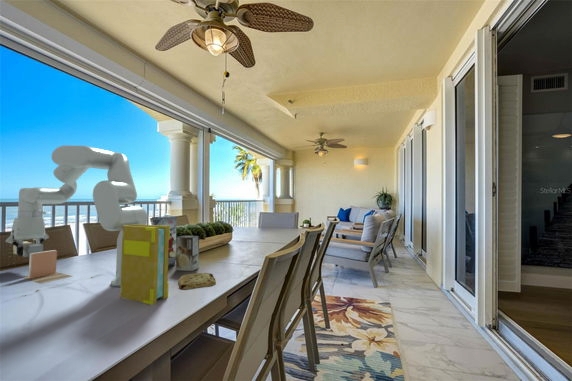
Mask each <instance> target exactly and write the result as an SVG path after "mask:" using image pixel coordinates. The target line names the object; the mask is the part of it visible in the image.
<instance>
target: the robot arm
mask: <svg viewBox="0 0 572 381" xmlns="http://www.w3.org/2000/svg"><path fill="white" fill-rule="evenodd" d="M51 160H52V162H53V163H54V164H55V165H58V166H56V167H55V168H54V170H53V176H54V177H55V179H57V180H58V181H60V182H61V183H63V184H62V185H61V186H60V187H59V188H58V187H21V188H20V189H19V192H18V206H17V217H15V218H14V219H13V221H12V222H13V223H12V225H11V229H10V230H11V231H10V236H8V237H7V238H6V239H5V243H8V244H12V245H15V246H16V247H17V254H18V255H17V254H16V255H17V256H18V257H24V256H23V247H22V244H23V242H25V241H26V240H27V241H29V240H33V243H36V244H41V243H43V242H44V241H45V240H47V239H49V238H50V236H49V235H48V234H47V232H46V225H45V219H44V217H43V216H44V215H46V211H43V205H58V204H59V205H60V204H61V205H62V204H64V203H66V202H67V201H69V199H70V198H72V197H73V196H74V195H75V194H76V192H77V190H78V189H77V188H78V184H77V180H78V179H80V178H81V176H83V174H84V173H85V172H87V171H88V170H89V169H90V168H91V169H99V170H107V171H106V172H107V173H106V174H107V176H106V177H107V180H101V181H98V182H97V183H96V185H94V187H93V191H92V199H93V204H94V206H95V211H96V214H97V218H98V221H99V224H100V226H101V227H102V228H103V229H104V230H105V231H108V232H115V231H116V232H117V231H119V234H118V236H117V239H116V256H115V259H116V261H115V262H116V264H115V268H116V269H115V278H113V279H111V281H110V286H113V287H116V288H117V287H120V288H121V264H122V235H123V225H134V224H140V225H147V222H148V212H147V211H146V210H145V209H144V208H143V207H142V206H138V205H128V204H132V203H134V202H135V201H136V200H137V197H138V193H137V190H136V186H135V183H134V182H135V181H134V180H133V175H132V172H131V168H130V162H129V159H128V157H127V156H126V155H125V154H123V153H122V152H121V153H120V152H116V151H111V150H107V149H103V148H97V147H93V146H87V145H68V144H67V145H60V146H58V147H56V148H55V149H54V150H53V151H52V153H51ZM120 205H121V206H120Z"/></svg>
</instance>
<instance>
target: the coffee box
mask: <svg viewBox="0 0 572 381" xmlns="http://www.w3.org/2000/svg"><path fill="white" fill-rule="evenodd" d="M199 262H200V236H199V235H181V236H176V255H175V270H176V271H187V272H188V271H189V272H193V271H195V270H197V269H199V268H200V263H199Z"/></svg>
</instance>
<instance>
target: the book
mask: <svg viewBox="0 0 572 381" xmlns="http://www.w3.org/2000/svg"><path fill="white" fill-rule="evenodd" d="M169 239H170V226H163V225H161V226H159V225H152V224H146V225H140V224H134V225H123V235H122V264H121V287H120V295H119V296H120V298H121V299H124V300H130V301H136V302H140V303H143V304H146V305H150V306H151V305H152V306H153V305H155V304H156V303H158V299H162V300H165V299H167V298H169V285H170V284H169V282H168V281H169V267H168V247H169Z"/></svg>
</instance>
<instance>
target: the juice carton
mask: <svg viewBox="0 0 572 381" xmlns="http://www.w3.org/2000/svg"><path fill="white" fill-rule="evenodd" d="M177 218H178V217H177V216H174V215H172V214H170V213H164V216H152V217H151V225H159V226H161V225H163V226H170V239H169V247H168V268H169V267H172V266H176V244H177Z"/></svg>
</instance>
